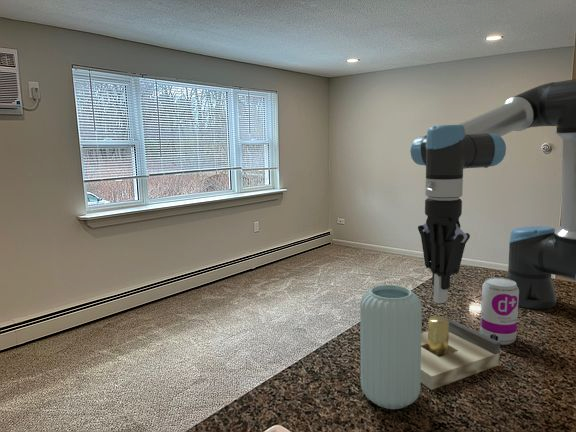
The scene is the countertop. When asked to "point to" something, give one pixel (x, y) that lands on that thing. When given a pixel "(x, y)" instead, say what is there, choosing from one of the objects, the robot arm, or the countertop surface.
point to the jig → (458, 356)
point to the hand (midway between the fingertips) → (440, 301)
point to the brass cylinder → (438, 335)
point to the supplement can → (499, 310)
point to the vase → (390, 345)
